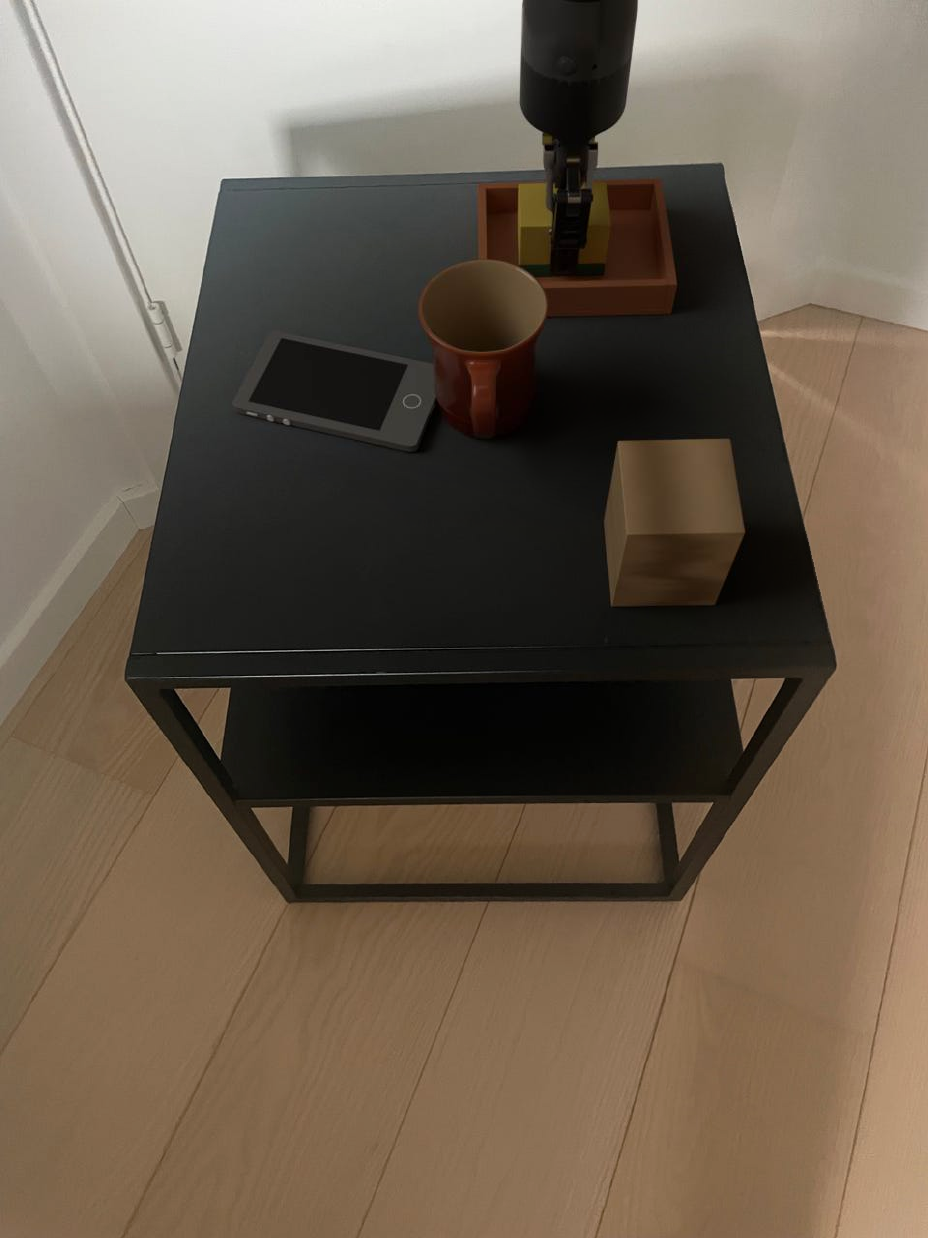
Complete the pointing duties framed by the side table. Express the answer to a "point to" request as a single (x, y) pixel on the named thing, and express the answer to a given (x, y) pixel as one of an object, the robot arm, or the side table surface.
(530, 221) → the sponge
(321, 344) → the smartphone
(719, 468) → the tall wooden block
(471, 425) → the mug
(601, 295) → the tray
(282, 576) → the side table surface
